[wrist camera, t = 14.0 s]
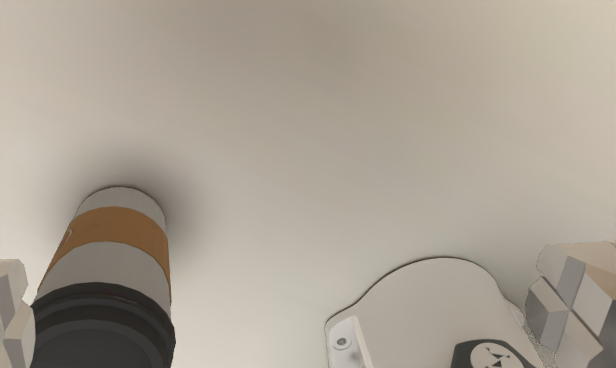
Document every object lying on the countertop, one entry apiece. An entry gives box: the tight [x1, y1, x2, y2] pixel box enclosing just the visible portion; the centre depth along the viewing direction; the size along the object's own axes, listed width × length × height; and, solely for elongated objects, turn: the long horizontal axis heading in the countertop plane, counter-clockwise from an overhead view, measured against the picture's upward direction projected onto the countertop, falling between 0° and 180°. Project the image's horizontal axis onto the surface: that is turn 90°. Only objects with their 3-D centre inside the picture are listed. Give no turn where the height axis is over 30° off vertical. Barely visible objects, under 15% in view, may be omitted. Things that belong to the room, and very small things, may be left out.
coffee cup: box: [30, 187, 176, 368], centre depth 36 cm, size 8×8×15 cm
